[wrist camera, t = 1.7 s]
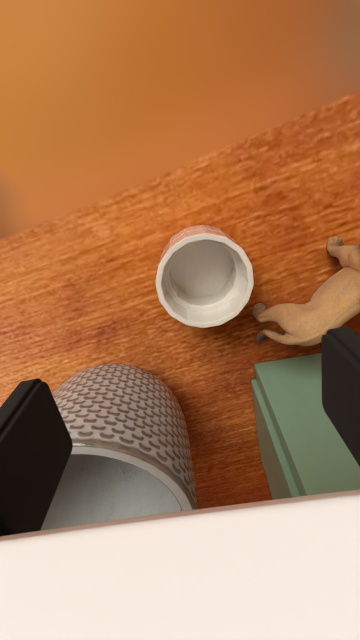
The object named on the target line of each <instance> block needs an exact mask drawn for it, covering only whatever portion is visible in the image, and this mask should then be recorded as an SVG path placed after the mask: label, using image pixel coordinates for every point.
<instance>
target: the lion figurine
mask: <svg viewBox="0 0 360 640" xmlns="http://www.w3.org/2000/svg"><path fill="white" fill-rule="evenodd" d="M342 245H343V241H342V238H341V237H337V236H334V237H330V238H329V239H328V241H327V251H328V252H329V254H330V256H333V257H337V258H338V259H339V261H340V265H341V266H342V267H343V269H341V270H340V271H339V272H337V273H336V274H334V275H333V276H332V277H330V278H329V279H328V280H327V281H326V282H325V283H324V284H323V285H322V286H321V287H320V288H319V289H318V290H317V291H316V292H315V293H314V295H313V297H312V299H311V301H310V302H308V303H306V304H296V303H286V304H279V305H276V306H274V307H272V308H269V309H267V310H266V305H265V304H262V303H257V304H255V305H254V306H253V308H252V314H253V316H254V317H255V319H257V320H258V321H259V322H260V323H264V322H266V321H272V322H276V323H277V324H278V325H279V326H280V327H281V328H282V329H283V330H284V331H285V334H284V335H281V334H278V333H276V332H273V331H271V330H262V331H261V332H259V333H257V334H256V338H255V341H256V342H257V343H260V342H261V341H262V339H263V338H265V336H268V337H269V338H271V339H273V340H274V341H276V342H279V343H283V344H287V345H296V344H297V345H300V346H312V345H316V344H318V343H321V337H322V335H325V334H326V332H327V330H328V329H334V328H340V327H341V326H342V325H343V324H344V323H346V322H347V321H348V320H350V319H351V318H352V317H354V316H355V315H357V314H358V313H360V245H359V246H354V245H343V246H342Z"/></svg>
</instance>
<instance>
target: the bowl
mask: <svg viewBox="0 0 360 640" xmlns="http://www.w3.org/2000/svg"><path fill="white" fill-rule="evenodd" d="M155 283H156V288H157V293H158V297H159V301H160V302H161V304H162V305H163V307H164V308H165V309H166V311H167V312H168V313H169V315H170V316H172V317H173V318H175V319H177V320H178V321H180V322H181V323H183V324H185V325H189V326H194V327H199V328H207V327H213V326H218V325H222V324H224V323H225V322H227V321H229V320H230V319H232V318H234V317H236V316H237V315H238V314H239V312H240V311H241V310H242V309H243V308H244V306H245V305H246V304H247V303H248V301H249V298H250V295H251V292H252V288H253V285H254V279H253V270H252V264H251V262H250V261H249V259H248V257H247V256H246V254H245V252H244V250H243V249H242V248H241V247H240V246H239V244H238V243H237V242H236V241H235V240H234V239H233V238H232V237H231V236H229V235H228V234H227V233H225V232H224V231H222V230H221V229H219V228H216V227H212V226H207V225H197V226H192V227H187V228H184V229H183V230H181V231H180V232H179V233H177V234H176V235H174V236H173V237H172V238H171V239H170V240H169V242H168V243H167V245H166V246H165V248H164V249H163V251H162V254H161V258H160V262H159V265H158V271H157V277H156V282H155Z"/></svg>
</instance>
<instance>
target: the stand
mask: <svg viewBox="0 0 360 640" xmlns="http://www.w3.org/2000/svg"><path fill="white" fill-rule="evenodd" d="M254 368H255V377H256V379H253V380H251V386H252V395H253V403H254V411H255V419H256V427H257V435H258V443H259V451H260V457H261V460H262V464H263V467H264V471H265V474H266V478H267V481H268V485H269V488H270V491H271V495H272V498H273V500H275V499H283V498H291V497H299V496H307V495H315V494H323V493H332V492H341V491H350V490H359V489H360V466H359V465H358V463H357V462H356V460H355V459H354V457H353V455H352V454H351V452H350V451H349V449H348V448H347V446H346V444H345V443H344V441H343V440H342V438H341V437H340V435H339V433H338V432H337V430H336V429H335V427H334V426H333V424H332V422H331V421H330V419H329V418H328V416H327V414H326V413H325V411H324V409H323V405H322V373H321V353H317V354H311V355H305V356H299V357H293V358H287V359H281V360H274V361H268V362H262V363H256V364H254Z"/></svg>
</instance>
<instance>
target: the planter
mask: <svg viewBox="0 0 360 640" xmlns="http://www.w3.org/2000/svg"><path fill="white" fill-rule="evenodd" d="M52 395H53V398H54V400H55V402H56V405H57V407H58V409H59V411H60V414H61V416H62V418H63V420H64V423H65V425H66V427H67V430H68V432H69V434H70V436H71V439H72V443H73V448H72V452H71V454H70V457H69V459H68V462H67V464H66V467H65V469H64V472H63V474H62V477H61V480H60V482H59V485H58V487H57V490H56V492H55V495H54V497H53V500H52V502H51V505H50V507H49V510H48V512H47V515H46V517H45V520H44V522H43V525H42V527H41V530H40V531H42V530H49V529H56V528H63V527H70V526H78V525H85V524H92V523H99V522H107V521H114V520H121V519H129V518H136V517H144V516H151V515H159V514H167V513H174V512H182V511H189V510H197V499H196V488H195V480H194V472H193V464H192V455H191V448H190V442H189V436H188V431H187V427H186V422H185V418H184V414H183V411H182V409H181V406H180V404H179V402H178V400H177V398H176V396H175V395H174V393H173V392H172V391H171V389H170V388H169V387H168V386H167V385H166V384H165V383H164V382H163V381H162V380H160V379H159V378H158V377H157V376H155V375H153V374H152V373H150V372H148V371H146V370H143V369H141V368H138V367H135V366H131V365H126V364H101V365H96V366H93V367H89V368H86V369H84V370H82V371H80V372H78V373H76V374H74V375H73V376H71V377H70V378H69V379H67V380H66V381H64V382H63V383H62V384H61V385H60V386H59V387H58V388H57V389H56V390H55V391H54V392H53V393H52Z"/></svg>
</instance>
